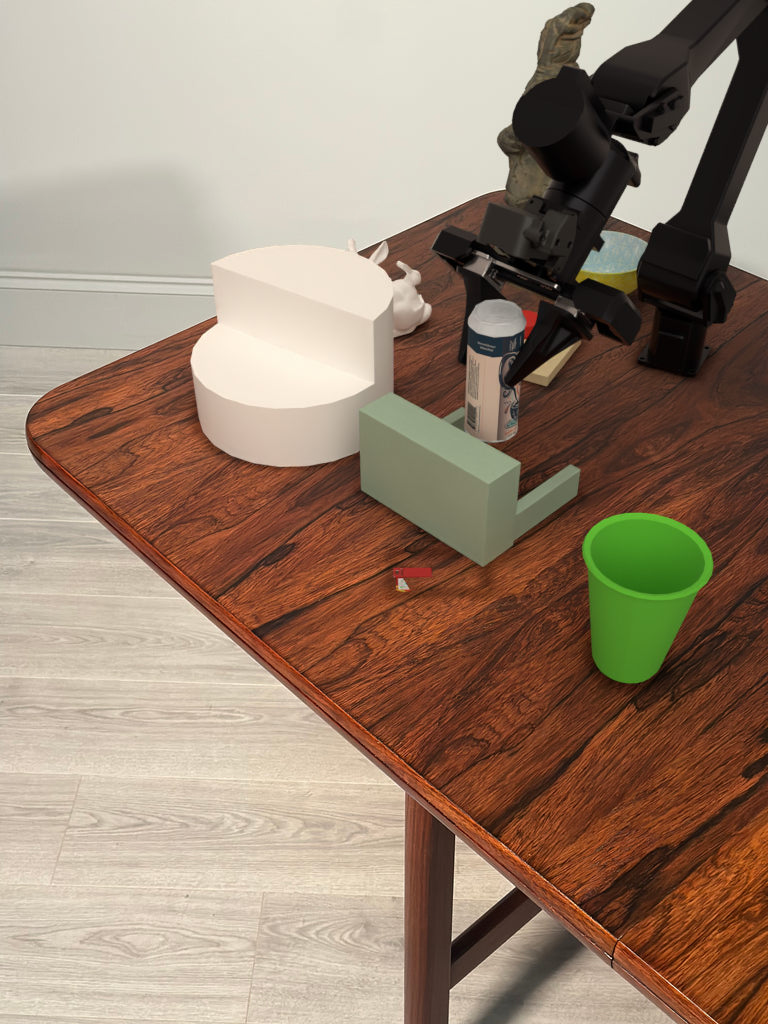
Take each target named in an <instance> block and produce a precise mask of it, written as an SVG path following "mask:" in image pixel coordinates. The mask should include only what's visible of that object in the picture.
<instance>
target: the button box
mask: <svg viewBox="0 0 768 1024" xmlns="http://www.w3.org/2000/svg"><path fill="white" fill-rule="evenodd" d="M525 341H526V339H524V343H525ZM581 344H582V340H580V341H578V342H576V343H575V344H573V345H572V346H570V347H568V348H567V349H565V350H563V351H562V352H560V353H558V354H557V355H555V356H554V357H552V358H551V359H549V360H548V361H547V362H545V363H544V364H543V365H541V366H540V367H539V368H538V369H536V370H535V371H534V372H532V373H531V374H530V375H528V376H527V377H526V378H524V379H523V380H522V381H526V382H528V383H532V384H536V385H540V386H544V387H548V386H549V384H550V383H551V382H552V381H553V380H554V378H555V377H556V376H557V375H558V373H559V372H560V371H561V369H562V368H563V367H564V366H565V365H566V363H567V362H568V361H569V360H570V358H571V357H572V356H573V355H574V353H575V352H576V351H577V350H578V348H579V347H580V346H581Z"/></svg>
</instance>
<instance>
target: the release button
mask: <svg viewBox="0 0 768 1024" xmlns="http://www.w3.org/2000/svg"><path fill="white" fill-rule="evenodd" d="M522 312H523V314H524V316H525V318H526V326H525V336H524V339H527V337H528V336H529V334H530V332H531V331H532V329H533V327H534V325H535V323H536V319H537V314H538V312H535V311H532V310H526V309H525V310H524V309H523V310H522Z"/></svg>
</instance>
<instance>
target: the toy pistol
mask: <svg viewBox="0 0 768 1024" xmlns="http://www.w3.org/2000/svg"><path fill="white" fill-rule="evenodd" d="M392 572H393V574H392V578H395V590H396V592H399V593H401V592H411V589H410V587H409V586H408V584H407V583H406V581H405V579H404V578H433V576H434V575H433V570H432V567H393V568H392ZM396 572H398V573H397V574H396Z"/></svg>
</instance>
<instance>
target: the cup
mask: <svg viewBox="0 0 768 1024" xmlns="http://www.w3.org/2000/svg"><path fill="white" fill-rule="evenodd" d="M581 545H582V546H581V551H582V558H583V560H584V563H585V565H586V567H587V577H588V578H587V579H588V580H587V581H588V601H589V620H590V621H589V623H590V624H589V625H590V642H591V654H592V655H591V656H592V659H593V662H594V664H595V666H596V667H597V668H598V670H599V671H600V672H601V673H602V674H603V675H604V676H606V677H608V678H609V679H611V680H613V681H616V682H619V683H622V684H623V683H625V684H638V683H644V682H645V681H647V680H649V679H651V678H652V677H653V676H654V675H656V674H657V673H658V671H659V670H660V668H661V667H662V664H663V663H664V660H665V658H666V657H667V655H668V652H669V651H670V648H671V647H672V645H673V642H674V641H675V638H676V637H677V634H678V632H679V631H680V628H681V626H682V625H683V623H684V620H685V618H686V617H687V615H688V612H689V610H690V608H691V606H692V604H693V603H694V601H695V599H696V597H697V594H698V592H699V591H700V590H701V589H702V588H703V587H704V586H706V585H707V583H708V582H709V580H710V578H712V575H713V571H714V570H713V569H714V561H713V560H714V559H713V554H712V551H711V550H710V548H709V547H708V545H707V543H706V542H705V540H704V539H703V538H702V537H701V536H700V535H699V534H698V533H697V532H696V531H694V530H693V529H691V528H690V527H688V526H687V525H686V524H684V523H682V522H679V521H677V520H676V519H672V518H670V517H668V516H667V517H666V516H663V515H661V514H657V513H655V514H654V513H647V512H624V513H621V514H619V513H618V514H615V515H614V514H613V515H611V516H609V517H606V518H604V519H602V520H600V521H599V522H598V523H596V524H595V525H593V526H592V527H591V528H590V530H589V531H588V532H587V533H586V535H585V536H584V539H583V542H582V544H581Z"/></svg>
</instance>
